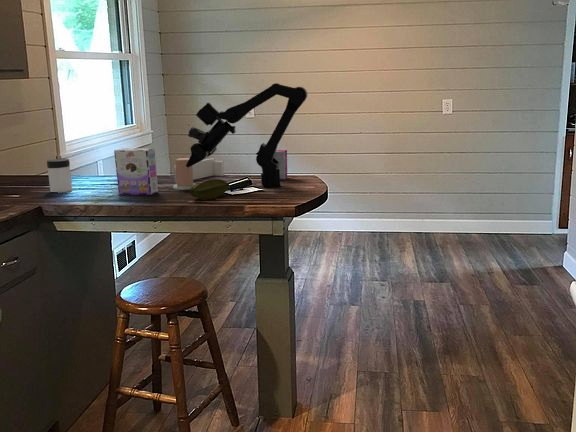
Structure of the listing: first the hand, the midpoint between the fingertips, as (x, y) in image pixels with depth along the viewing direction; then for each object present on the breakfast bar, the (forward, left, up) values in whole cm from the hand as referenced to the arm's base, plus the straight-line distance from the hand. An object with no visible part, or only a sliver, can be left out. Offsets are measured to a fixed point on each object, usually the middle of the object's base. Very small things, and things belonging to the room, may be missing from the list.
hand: (189, 164), depth 236 cm
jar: (+50, -11, -9) cm, 52 cm away
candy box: (+19, +5, -9) cm, 22 cm away
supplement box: (-35, -8, -9) cm, 37 cm away
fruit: (-6, +23, -9) cm, 26 cm away
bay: (-3, -19, -9) cm, 21 cm away
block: (+2, -1, -8) cm, 8 cm away
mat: (+2, -1, -9) cm, 9 cm away
